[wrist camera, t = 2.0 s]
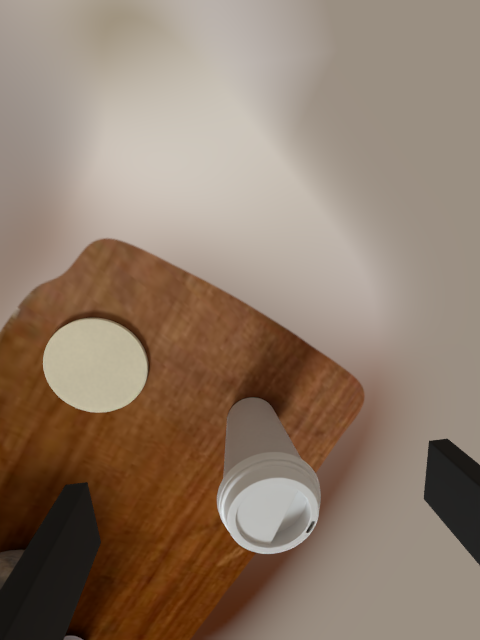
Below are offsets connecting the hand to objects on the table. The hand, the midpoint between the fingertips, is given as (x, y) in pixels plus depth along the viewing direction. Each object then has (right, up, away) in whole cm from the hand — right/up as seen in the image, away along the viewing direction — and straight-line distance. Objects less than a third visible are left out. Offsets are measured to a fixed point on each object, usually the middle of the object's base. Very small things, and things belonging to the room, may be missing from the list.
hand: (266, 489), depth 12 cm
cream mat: (-18, +1, +25) cm, 31 cm away
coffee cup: (0, -7, +29) cm, 29 cm away
